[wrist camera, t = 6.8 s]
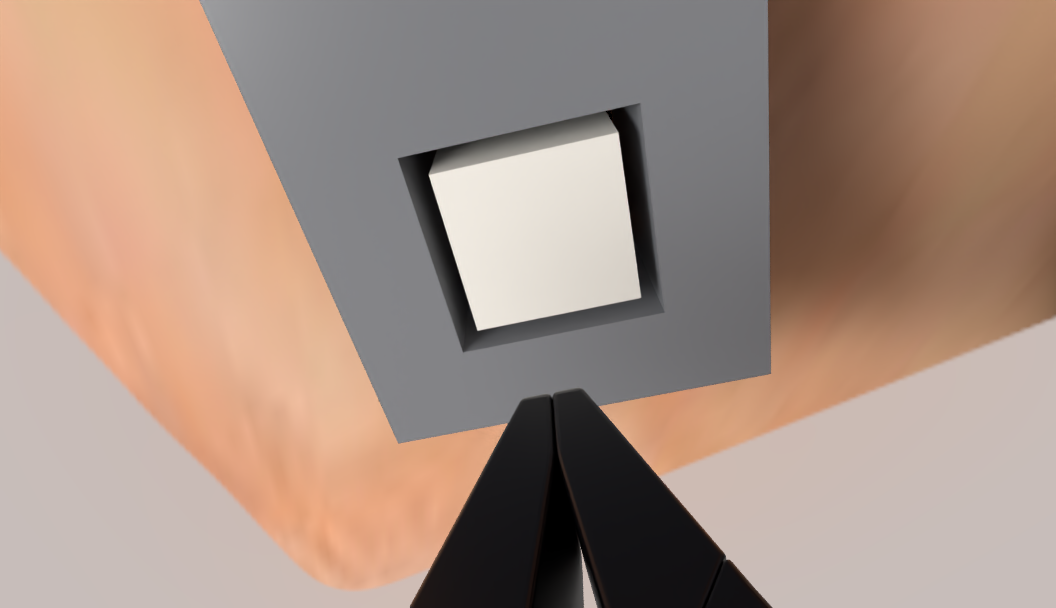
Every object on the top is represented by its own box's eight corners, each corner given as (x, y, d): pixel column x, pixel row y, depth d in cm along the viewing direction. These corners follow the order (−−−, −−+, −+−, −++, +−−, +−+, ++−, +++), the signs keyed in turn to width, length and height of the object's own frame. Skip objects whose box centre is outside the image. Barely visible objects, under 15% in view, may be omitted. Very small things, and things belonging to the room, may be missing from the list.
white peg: (589, 85, 16) (618, 132, 12) (610, 218, 18) (641, 298, 14) (447, 118, 17) (428, 174, 12) (483, 245, 19) (477, 330, 15)
